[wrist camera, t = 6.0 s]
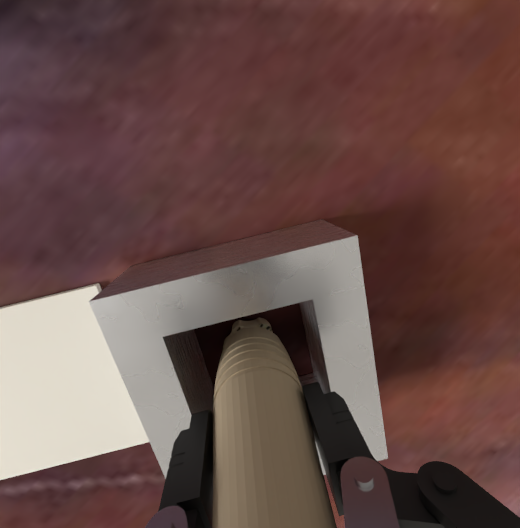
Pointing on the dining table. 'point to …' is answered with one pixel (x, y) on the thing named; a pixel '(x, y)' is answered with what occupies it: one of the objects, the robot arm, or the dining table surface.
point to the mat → (59, 386)
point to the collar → (235, 306)
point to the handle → (264, 438)
